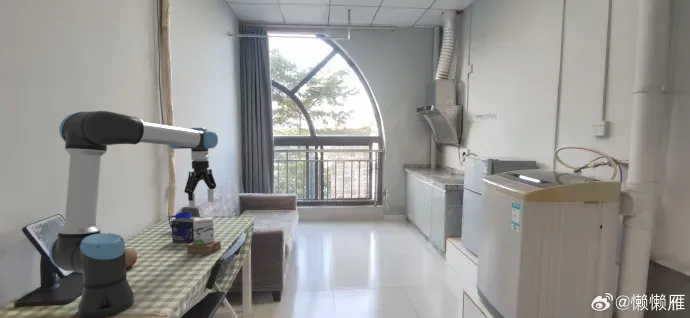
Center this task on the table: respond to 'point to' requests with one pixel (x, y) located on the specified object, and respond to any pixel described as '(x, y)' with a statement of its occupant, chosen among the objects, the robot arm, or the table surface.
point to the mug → (181, 216)
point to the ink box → (203, 230)
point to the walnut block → (204, 248)
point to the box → (182, 230)
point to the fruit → (130, 257)
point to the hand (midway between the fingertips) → (201, 204)
